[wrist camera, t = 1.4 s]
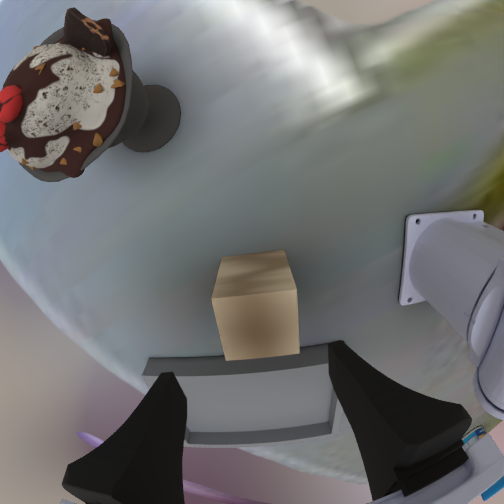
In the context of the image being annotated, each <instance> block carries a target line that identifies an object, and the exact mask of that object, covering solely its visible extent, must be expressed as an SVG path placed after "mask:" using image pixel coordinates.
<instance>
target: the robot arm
mask: <svg viewBox="0 0 504 504" xmlns="http://www.w3.org/2000/svg"><path fill="white" fill-rule="evenodd" d="M473 215H474V216H473ZM416 219H418V222H417V223H416ZM483 219H484V213H483V211H482V210H465V211H451V212H438V213H426V214H414V215H409V216H408V217H407V219H406V231H405V247H404V260H403V270H402V279H401V288H400V295H399V303H400V304H401V305H402V306H405V305H410V304H414V303H418V302H422V301H427V302H428V303H429V304H430V305H431V306H432V307H433V308H434V309H435V310H436V311H437V312H438V313H439V314H440V315H441V316H442V317H443V318H444V319H445V320H446V321H447V322H448V323H449V324H450V325H451V327H452V328H453V329H454V330H455V331H456V332H457V333H458V334H459V335H460V336H461V338H462V339H463V340H464V341H465V342H466V343H467V344H468V345H469V346H470V348H471V353H470V356H469V359H470V360H471V361H472V363H473V364H474V365H475V366H476V368H477V369H476V371H475V374H474V379H473V386H474V392H475V395H476V397H477V399H478V401H479V403H480V404H481V406H482V407H483V408H484V409H485V410H486V411H487V412H488V413H489V414H491V415H492V416H494V417H496V418H498V419H501V420H504V231H502V230H500V229H498V228H496V227H494V226H492V225H490V224H487V223H485V222H483ZM409 298H410V299H409ZM408 299H409V300H408ZM328 369H329V376H330V379H331V383H332V385H333V388H334V391H335V393H336V396H337V398H338V400H339V402H340V404H341V406H342V408H343V410H344V412H345V414H346V416H347V419H348V421H349V423H350V425H351V427H352V429H353V432H354V434H355V437H356V440H357V443H358V447H359V450H360V453H361V456H362V460H363V463H364V467H365V470H366V474H367V478H368V482H369V486H370V490H371V495H372V500H373V501H372V502H370V503H367V504H469V503H470V502H471V501H473V500H474V499H475V498H477V497H478V496H479V495H481V494H482V493H483V492H485V491H486V490H487V489H488V488H489V487H491V486H492V485H493V484H494V483H496V482H497V481H498V480H499V479H500V478H501V477H502V476H504V456H503V454H502V452H501V451H500V449H499V448H498V446H497V445H496V443H495V442H494V440H493V439H492V437H491V436H490V435H489V434H486V435H484V436H483V437H482V438H481V439H479V440H478V441H476V442H475V443H474V444H472V445H471V446H470V447H468V448H467V449H466V450H465V451H464V449H463V448H462V446H463V445H464V442H463V441H462V439H461V438H462V436H463V435H464V434H465V432H466V431H467V430H468V428H469V427H470V425H471V422H472V418H471V417H470V415H469V414H468V412H467V411H466V410H465V409H464V407H463V406H462V405H461V404H456V403H451V402H446V401H442V400H438V399H435V398H431V397H428V396H425V395H423V394H420V393H418V392H415V391H413V390H411V389H408V388H406V387H404V386H402V385H400V384H399V383H397V382H395V381H393V380H392V379H390V378H388V377H387V376H385V375H384V374H382V373H381V372H379V371H378V370H376V369H375V368H374V367H372V366H371V365H370V364H368V363H367V362H366V361H365V360H363V359H362V358H361V357H360V356H358V355H357V354H356V353H355V352H354V351H353V350H352V349H350V348H349V347H348V346H347V345H346V344H345V343H344V342H343V341H341V340H339V341H335V342H332V343H328ZM186 423H187V397H186V396H185V394H184V392H183V390H182V388H181V386H180V384H179V382H178V381H177V379H176V377H175V375H174V373H173V372H163V373H161V374H160V375H159V376H158V378H157V379H156V381H155V382H154V384H153V385H152V387H151V388H150V390H149V391H148V392H147V394H146V395H145V397H144V398H143V400H142V401H141V402H140V404H139V405H138V406H137V408H136V409H135V410H134V412H133V413H132V414H131V415H130V417H129V418H128V419H127V420H126V421H125V423H124V424H123V425H122V426H121V427H120V428H119V429H118V430H117V431H116V432H115V433H114V434H113V435H111V436H110V437H109V438H108V439H107V440H106V441H104V442H103V443H102V444H101V445H100V446H98V447H97V448H96V449H94V450H93V451H91V452H90V453H88V454H87V455H85V456H83V457H82V458H80V459H78V460H76V461H74V462H73V463H71V464H68V466H67V469H66V472H65V476H64V479H63V482H62V486H63V488H64V489H65V490H67V491H68V492H70V493H71V494H72V495H74V496H75V497H77V498H79V499H80V500H82V501H83V502H85V503H86V504H185V503H184V494H183V479H182V456H183V455H182V454H183V447H184V439H185V431H186ZM60 504H76V503H73V502H70V501H67V500H64V499H62V500H61V503H60Z"/></svg>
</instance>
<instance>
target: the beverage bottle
mask: <svg viewBox="0 0 504 504" xmlns="http://www.w3.org/2000/svg"><path fill="white" fill-rule="evenodd" d="M484 435H486V432H485V430H484V428H483V427H482V426H479V427H477V428H475V429H473V430H472V431H470V432H469V433H468V434H466V435H465V436H464V437H463V438H462V441H463V442H464V445H463V446H462V448H463V449H464V451H465V450H466V449H467V448H468V447H470V446H471V445H472V444H474V443H475V442H476V441H478V440H479V439H481V438H482V437H483V436H484ZM503 487H504V476H502V477H501V478H500V479H499V480H498V481H497V482H496V483H494V484H493V485H492V486H491V487H489V488H488V489H487V490H486V491H485V492H483V493H482V494H481V496H482V499H483V500H484V501H485V500H487V499H489V498H490V497H491V496H493V495H494V494H496V493H497V492H498V491H500V490H501V489H502V488H503Z"/></svg>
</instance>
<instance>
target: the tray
mask: <svg viewBox="0 0 504 504" xmlns="http://www.w3.org/2000/svg"><path fill="white" fill-rule="evenodd" d="M343 342H344V341H343ZM163 372H173V373H174V375H175V377H176V379H177V381H178V382H179V384H180V386H181V388H182V390H183V392H184V394H185V396H186V397H187V423H186V431H185V439H184V446H185V447H203V448H237V447H258V446H271V445H281V444H290V443H297V442H304V441H311V440H317V439H322V438H328V437H333V436H338V432H339V428H340V423H341V418H342V413H343V408H342V406H341V404H340V402H339V400H338V398H337V396H336V393H335V391H334V388H333V385H332V383H331V379H330V376H329V369H328V344H322V345H316V346H310V347H303V348H300V353H298V354H291V355H283V356H274V357H265V358H255V359H244V360H231V361H226V359H225V356H211V357H187V358H149V360H148V362H147V365H146V367H145V369H144V372H143V374H142V377H143V379H144V381H145V383H146V385H147V386H148V388H149V390H150V388H151V387H152V385H153V384H154V382H155V381H156V379H157V378H158V376H159V375H160V374H161V373H163Z"/></svg>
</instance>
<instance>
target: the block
mask: <svg viewBox="0 0 504 504" xmlns="http://www.w3.org/2000/svg"><path fill="white" fill-rule="evenodd" d="M211 300H212V304H213V309H214V313H215V317H216V322H217V326H218V330H219V334H220V339H221V343H222V347H223V351H224V355H225V359H226V361H231V360H244V359H255V358H265V357H274V356H283V355H291V354H298V353H300V348H299V322H298V302H297V288H296V285H295V282H294V279H293V276H292V273H291V269H290V266H289V263H288V260H287V257H286V254H285V251H284V250H279V251H271V252H262V253H254V254H245V255H237V256H228V257H222V259H221V263H220V267H219V270H218V274H217V278H216V282H215V286H214V290H213V294H212V298H211Z"/></svg>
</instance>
